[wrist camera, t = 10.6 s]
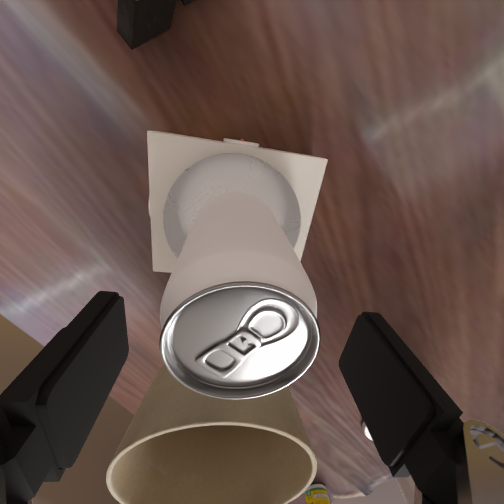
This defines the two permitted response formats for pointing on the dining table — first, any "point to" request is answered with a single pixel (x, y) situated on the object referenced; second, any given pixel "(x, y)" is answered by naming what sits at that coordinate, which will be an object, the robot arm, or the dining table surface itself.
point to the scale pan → (221, 180)
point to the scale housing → (195, 149)
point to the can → (238, 304)
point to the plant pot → (211, 449)
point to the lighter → (144, 19)
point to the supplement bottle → (316, 494)
